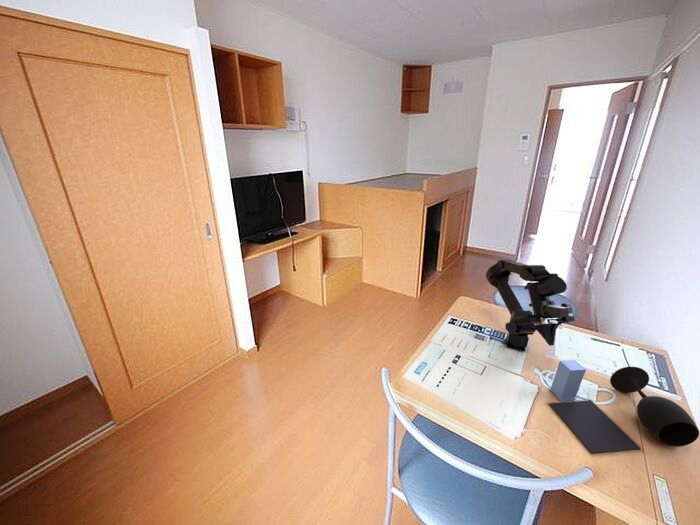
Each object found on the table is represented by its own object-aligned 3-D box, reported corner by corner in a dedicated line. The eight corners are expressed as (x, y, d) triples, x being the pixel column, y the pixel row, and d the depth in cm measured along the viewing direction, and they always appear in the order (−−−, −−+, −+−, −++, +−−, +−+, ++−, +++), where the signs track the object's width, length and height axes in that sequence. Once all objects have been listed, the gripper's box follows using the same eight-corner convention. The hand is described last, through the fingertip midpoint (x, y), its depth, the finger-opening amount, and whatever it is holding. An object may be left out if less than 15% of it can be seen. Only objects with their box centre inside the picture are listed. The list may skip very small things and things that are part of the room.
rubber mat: (548, 404, 94) (549, 403, 94) (590, 401, 95) (591, 400, 95) (591, 453, 79) (592, 452, 79) (640, 449, 80) (640, 448, 80)
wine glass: (650, 365, 94) (706, 419, 76) (647, 391, 97) (700, 449, 79) (610, 367, 97) (655, 419, 78) (609, 392, 100) (652, 448, 82)
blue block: (549, 389, 99) (559, 360, 95) (564, 388, 100) (574, 359, 95) (560, 400, 95) (570, 370, 91) (574, 399, 96) (586, 369, 91)
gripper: (535, 295, 97) (547, 345, 92) (582, 294, 101) (597, 342, 96) (510, 301, 107) (520, 347, 103) (554, 300, 111) (566, 344, 106)
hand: (551, 345), depth 102 cm, fingers closed
